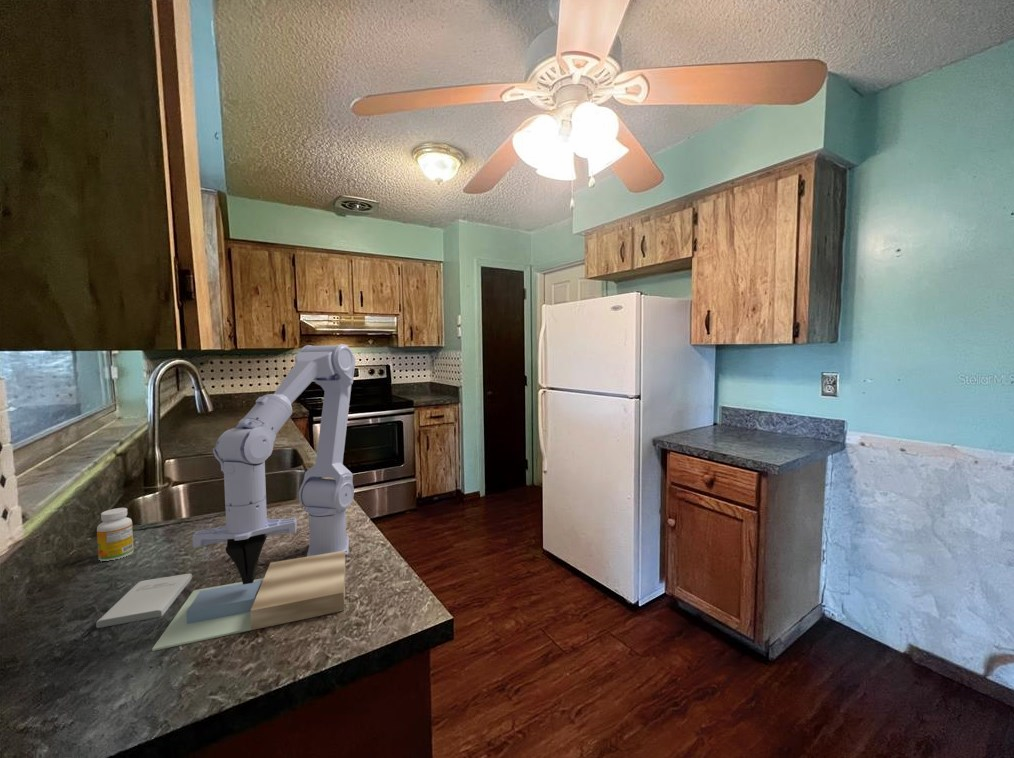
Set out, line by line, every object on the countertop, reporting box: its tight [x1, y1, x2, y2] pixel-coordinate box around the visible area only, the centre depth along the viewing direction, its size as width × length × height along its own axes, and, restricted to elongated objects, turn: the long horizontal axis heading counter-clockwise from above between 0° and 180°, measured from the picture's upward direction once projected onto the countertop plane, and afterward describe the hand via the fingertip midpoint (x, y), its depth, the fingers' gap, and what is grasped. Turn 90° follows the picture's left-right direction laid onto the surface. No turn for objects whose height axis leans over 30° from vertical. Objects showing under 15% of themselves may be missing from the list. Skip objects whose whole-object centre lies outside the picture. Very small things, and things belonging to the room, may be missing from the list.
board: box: [250, 551, 347, 631], centre depth 71 cm, size 16×13×3 cm
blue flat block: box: [187, 580, 262, 624], centre depth 67 cm, size 6×9×2 cm, turn 111°
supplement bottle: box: [96, 507, 134, 562], centre depth 86 cm, size 5×5×10 cm
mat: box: [151, 577, 264, 652], centre depth 67 cm, size 16×12×1 cm
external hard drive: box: [95, 573, 193, 629], centre depth 70 cm, size 2×8×12 cm
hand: (249, 580), depth 68 cm, fingers closed
